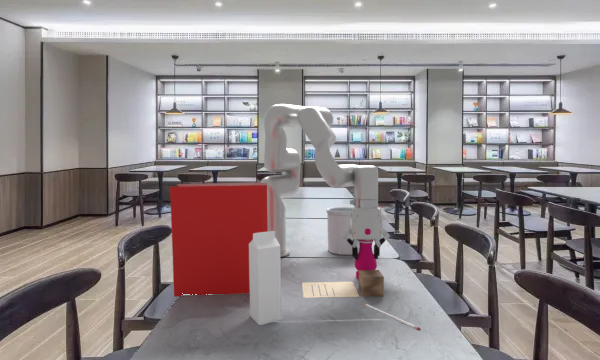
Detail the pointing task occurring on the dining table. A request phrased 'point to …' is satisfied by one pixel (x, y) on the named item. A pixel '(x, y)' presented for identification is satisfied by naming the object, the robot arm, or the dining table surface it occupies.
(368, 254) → the pepper mill
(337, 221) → the utensil holder
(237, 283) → the book
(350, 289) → the letter
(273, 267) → the milk
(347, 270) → the dining table surface
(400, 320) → the pencil
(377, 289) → the block
